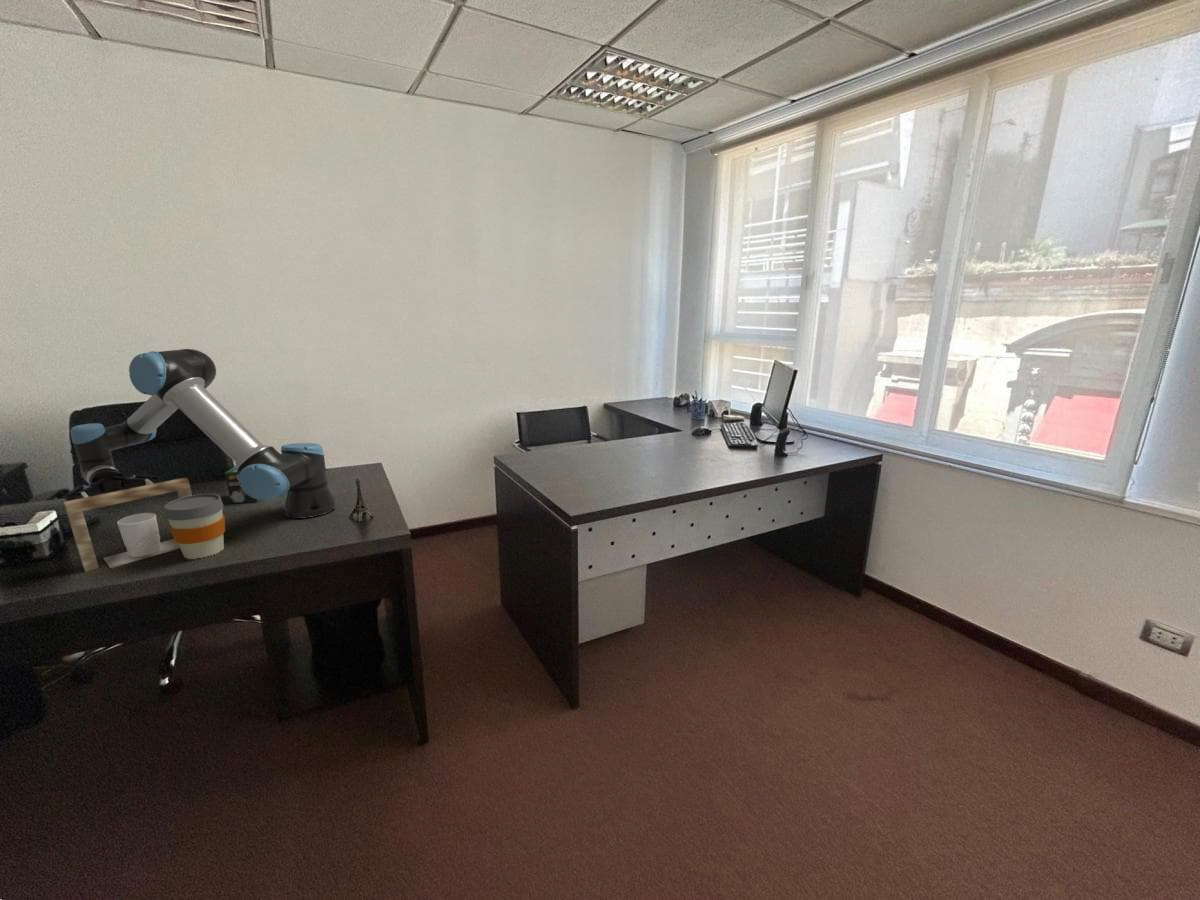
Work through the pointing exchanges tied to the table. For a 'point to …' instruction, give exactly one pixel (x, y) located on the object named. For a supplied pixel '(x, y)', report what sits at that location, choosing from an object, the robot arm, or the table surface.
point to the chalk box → (236, 488)
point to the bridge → (83, 504)
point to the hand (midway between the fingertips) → (122, 494)
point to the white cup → (140, 534)
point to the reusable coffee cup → (197, 524)
